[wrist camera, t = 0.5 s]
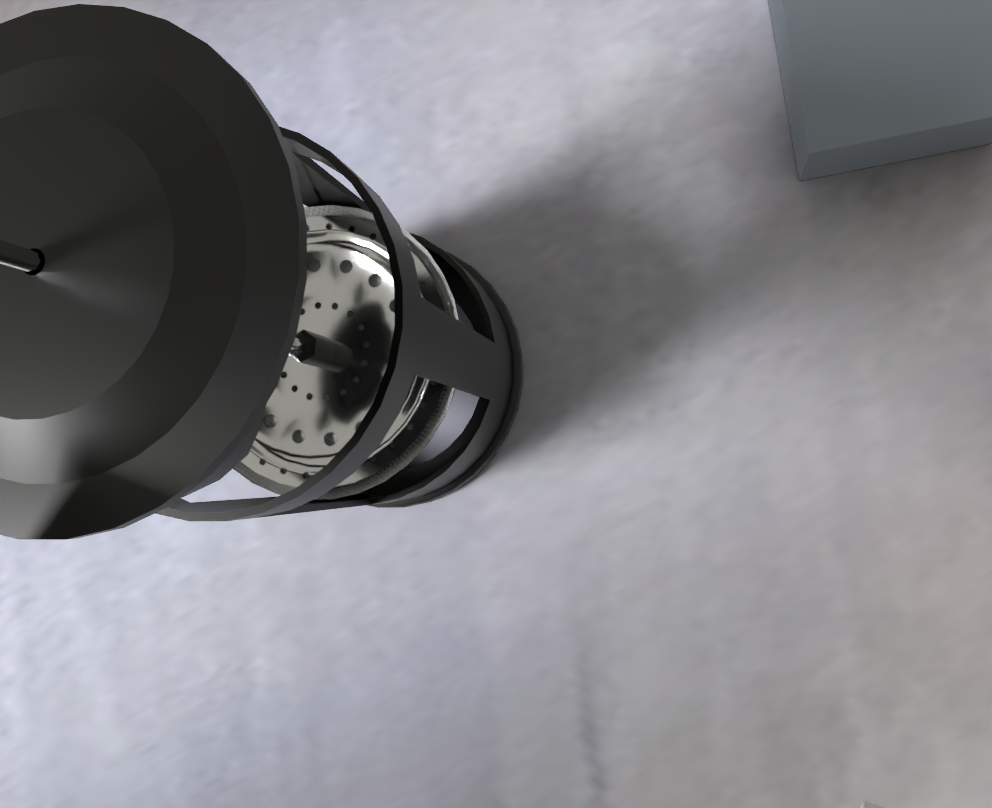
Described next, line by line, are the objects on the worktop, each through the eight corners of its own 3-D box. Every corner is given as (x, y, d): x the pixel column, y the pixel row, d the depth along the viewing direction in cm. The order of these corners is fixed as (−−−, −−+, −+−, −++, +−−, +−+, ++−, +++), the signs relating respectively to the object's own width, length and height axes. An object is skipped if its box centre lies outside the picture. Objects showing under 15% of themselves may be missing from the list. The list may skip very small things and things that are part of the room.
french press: (553, 248, 30) (121, -435, 7) (531, 521, 29) (-6, 703, 7) (244, 240, 32) (-771, -277, 10) (219, 490, 32) (-912, 545, 9)
